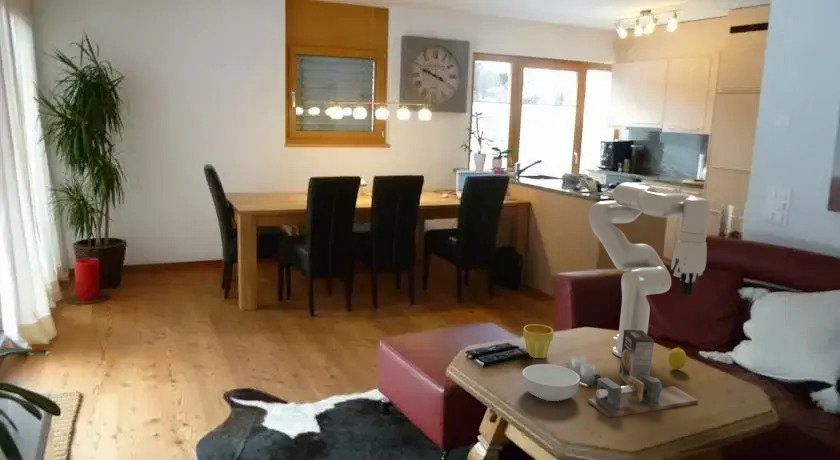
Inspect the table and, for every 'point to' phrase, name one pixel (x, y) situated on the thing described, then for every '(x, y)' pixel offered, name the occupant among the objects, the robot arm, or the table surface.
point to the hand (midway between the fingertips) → (685, 293)
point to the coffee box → (635, 354)
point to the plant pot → (537, 339)
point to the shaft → (623, 390)
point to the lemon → (677, 358)
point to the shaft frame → (638, 397)
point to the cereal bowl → (550, 381)
